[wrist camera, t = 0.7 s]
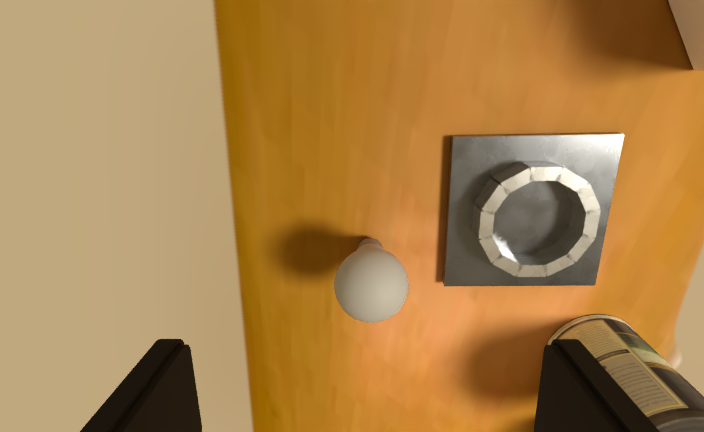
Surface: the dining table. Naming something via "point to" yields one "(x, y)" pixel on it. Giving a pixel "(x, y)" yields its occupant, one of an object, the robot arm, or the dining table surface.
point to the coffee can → (639, 372)
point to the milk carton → (691, 28)
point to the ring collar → (528, 208)
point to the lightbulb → (371, 283)
